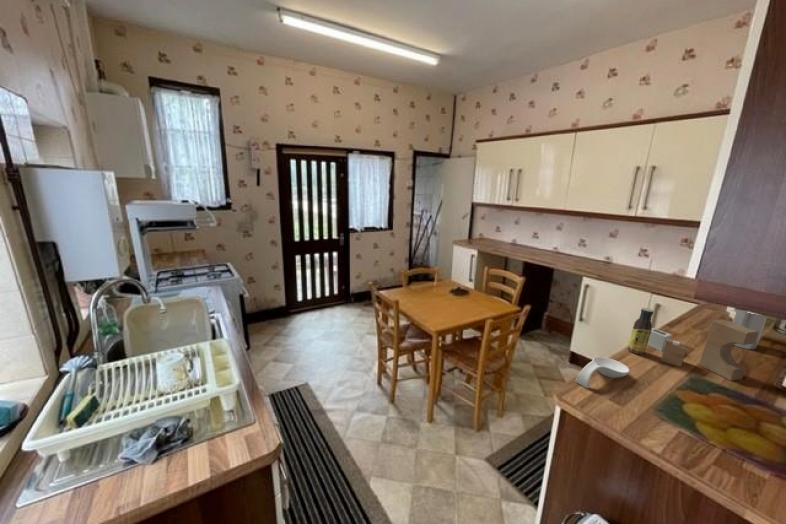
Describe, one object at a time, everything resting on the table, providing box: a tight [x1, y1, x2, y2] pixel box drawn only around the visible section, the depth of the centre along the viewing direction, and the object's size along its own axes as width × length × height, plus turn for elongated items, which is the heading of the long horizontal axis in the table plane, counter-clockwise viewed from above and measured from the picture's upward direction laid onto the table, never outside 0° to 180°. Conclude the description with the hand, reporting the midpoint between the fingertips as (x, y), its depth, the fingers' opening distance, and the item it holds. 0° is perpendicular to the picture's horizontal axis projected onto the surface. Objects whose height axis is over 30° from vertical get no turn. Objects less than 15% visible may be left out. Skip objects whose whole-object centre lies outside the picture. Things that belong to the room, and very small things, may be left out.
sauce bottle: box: [626, 307, 655, 355], centre depth 133 cm, size 7×6×20 cm
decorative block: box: [698, 318, 758, 382], centre depth 120 cm, size 11×6×20 cm, turn 11°
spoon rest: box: [575, 356, 631, 389], centre depth 117 cm, size 24×12×7 cm, turn 119°
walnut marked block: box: [661, 338, 687, 368], centre depth 128 cm, size 6×6×8 cm
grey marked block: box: [647, 327, 672, 352], centre depth 140 cm, size 5×7×7 cm
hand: (741, 299), depth 113 cm, fingers open, 8 cm apart
